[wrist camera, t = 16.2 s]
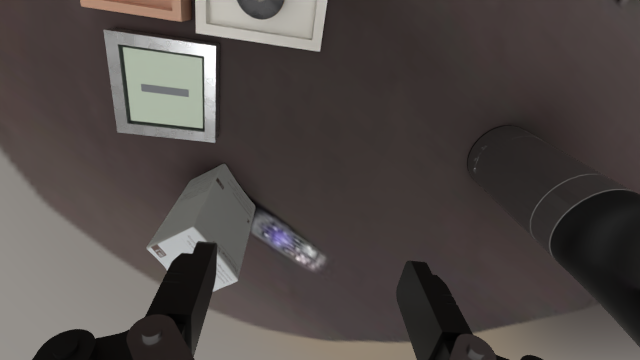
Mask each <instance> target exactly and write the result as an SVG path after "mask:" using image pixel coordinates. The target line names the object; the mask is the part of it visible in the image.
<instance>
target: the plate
mask: <svg viewBox="0 0 640 360" xmlns="http://www.w3.org/2000/svg"><path fill="white" fill-rule="evenodd" d="M123 53H124V62H125V71H126V80H127V88H128V97H129V106H130V115H131V120H132V121H141V122H150V123H159V124H168V125H177V126H186V127H194V128H203V127H204V126H205V100H204V56H198V55H191V54H184V53H177V52H170V51H163V50H156V49H149V48H142V47H135V46H125V47H123Z"/></svg>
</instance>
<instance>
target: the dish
mask: <svg viewBox="0 0 640 360" xmlns="http://www.w3.org/2000/svg"><path fill="white" fill-rule="evenodd" d="M80 2H81V6H83V7H89V8H96V9H102V10H109V11H115V12H122V13H128V14H134V15H141V16H147V17H154V18H160V19H167V20H173V21H180V22H183V21H187V20H192V7H191V0H80Z"/></svg>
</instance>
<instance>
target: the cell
mask: <svg viewBox="0 0 640 360" xmlns="http://www.w3.org/2000/svg"><path fill="white" fill-rule="evenodd" d="M284 1H285V0H237V2H238V4H239V6H240V7H241V9H242V10H243V11H244V12H245V13H246V14H248V15H249V16H251V17H253V18H255V19H261V20H264V19H269V18H272V17H273V16H275V15H276V14H277V13H278V12H279V11H280V10H281V8H282V6H283V4H284Z"/></svg>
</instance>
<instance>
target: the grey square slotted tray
mask: <svg viewBox="0 0 640 360" xmlns="http://www.w3.org/2000/svg"><path fill="white" fill-rule="evenodd" d="M104 37H105V44H106V52H107V59H108V66H109V74H110V81H111V88H112V96H113V103H114V111H115V118H116V125H117V132H120V133H129V134H139V135H148V136H157V137H167V138H176V139H185V140H195V141H204V142H213V143H215V142H216V140H217V138H218V136H219V89H220V43H214V42H208V41H201V40H194V39H187V38H181V37H174V36H167V35H160V34H154V33H147V32H140V31H133V30H127V29H120V28H110V29H104ZM125 46H135V47H142V48H149V49H156V50H163V51H170V52H177V53H184V54H191V55H198V56H204V100H205V126H204V127H203V128H194V127H186V126H177V125H168V124H159V123H150V122H141V121H132V120H131V115H130V106H129V97H128V88H127V80H126V71H125V62H124V53H123V47H125Z"/></svg>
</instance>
